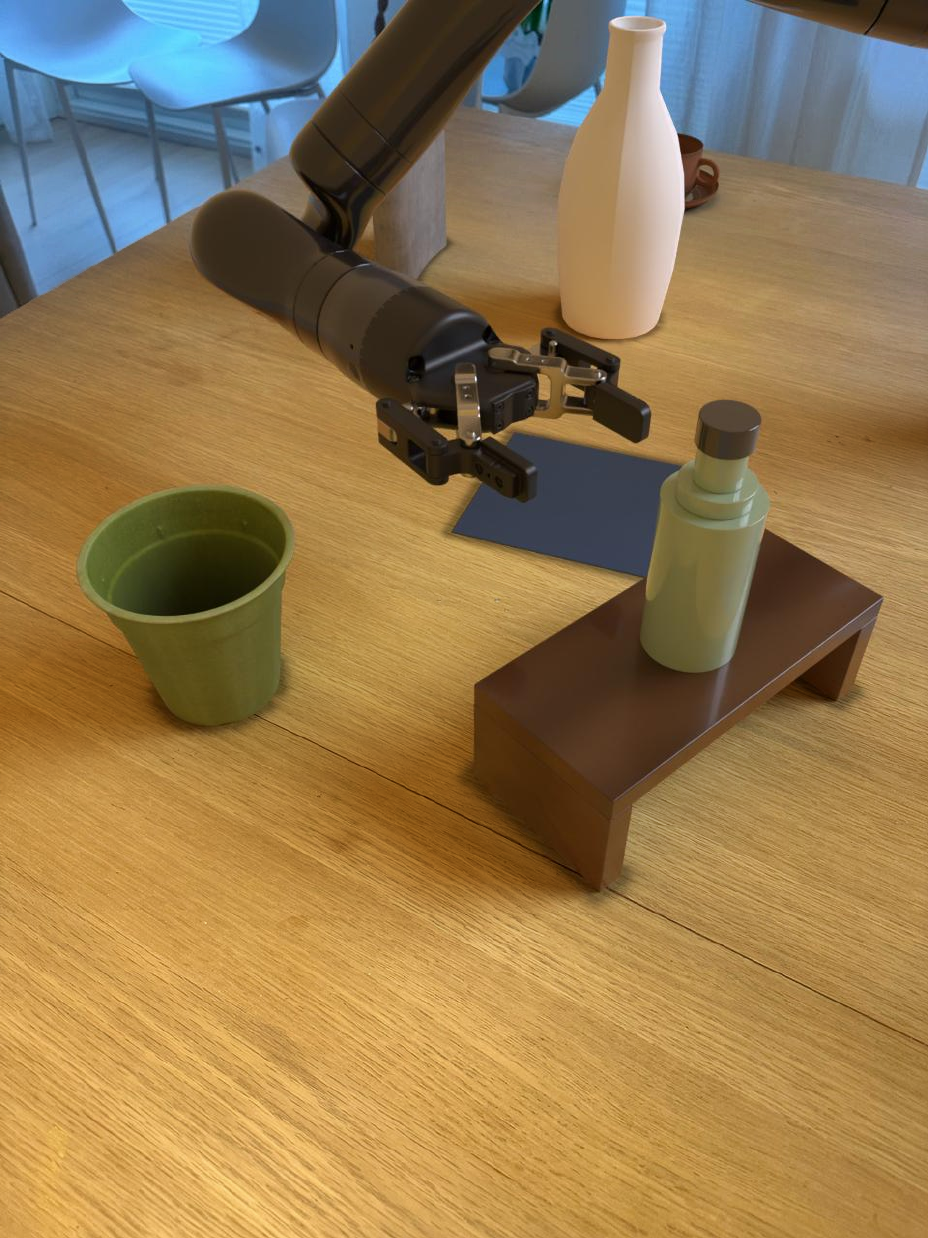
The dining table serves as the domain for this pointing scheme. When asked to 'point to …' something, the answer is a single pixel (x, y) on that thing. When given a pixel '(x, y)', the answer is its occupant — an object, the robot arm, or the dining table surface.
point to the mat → (576, 506)
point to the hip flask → (413, 215)
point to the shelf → (652, 701)
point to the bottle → (621, 194)
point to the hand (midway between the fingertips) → (591, 455)
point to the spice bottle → (706, 545)
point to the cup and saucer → (696, 172)
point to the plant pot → (196, 594)
